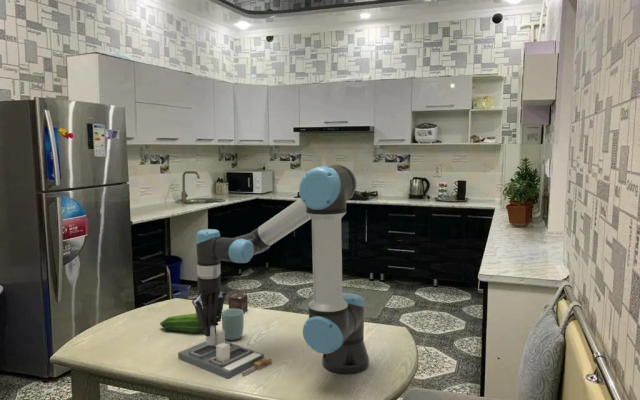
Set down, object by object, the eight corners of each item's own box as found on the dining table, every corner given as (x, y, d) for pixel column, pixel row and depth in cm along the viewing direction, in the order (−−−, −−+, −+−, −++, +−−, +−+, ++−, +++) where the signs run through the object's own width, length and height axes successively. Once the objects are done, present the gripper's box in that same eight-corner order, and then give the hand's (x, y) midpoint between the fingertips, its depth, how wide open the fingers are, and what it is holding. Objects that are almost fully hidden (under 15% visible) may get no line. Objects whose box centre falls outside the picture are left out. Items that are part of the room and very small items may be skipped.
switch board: (264, 360, 160) (264, 352, 160) (228, 378, 148) (227, 370, 147) (215, 342, 175) (214, 335, 174) (178, 358, 162) (178, 350, 162)
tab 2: (229, 359, 155) (229, 344, 155) (222, 363, 153) (222, 347, 152) (223, 357, 157) (223, 342, 157) (216, 360, 155) (216, 345, 154)
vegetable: (206, 312, 182) (157, 310, 186) (203, 332, 179) (153, 329, 183) (213, 315, 189) (166, 312, 192) (211, 334, 186) (163, 331, 190)
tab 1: (224, 344, 167) (224, 330, 166) (218, 347, 165) (218, 333, 164) (219, 342, 169) (218, 328, 168) (212, 345, 166) (212, 331, 166)
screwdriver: (266, 362, 159) (266, 356, 159) (271, 363, 158) (271, 358, 158) (240, 376, 150) (240, 369, 150) (244, 377, 149) (244, 371, 148)
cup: (239, 343, 174) (238, 316, 173) (219, 341, 176) (218, 314, 175) (246, 334, 182) (246, 309, 181) (227, 333, 184) (226, 307, 183)
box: (235, 309, 211) (235, 292, 210) (248, 310, 209) (247, 294, 208) (228, 313, 205) (228, 296, 204) (241, 315, 203) (241, 298, 202)
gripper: (216, 270, 169) (217, 335, 171) (185, 278, 158) (187, 347, 161) (231, 273, 164) (232, 340, 167) (200, 282, 154) (202, 353, 156)
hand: (210, 344), depth 164 cm, fingers closed
